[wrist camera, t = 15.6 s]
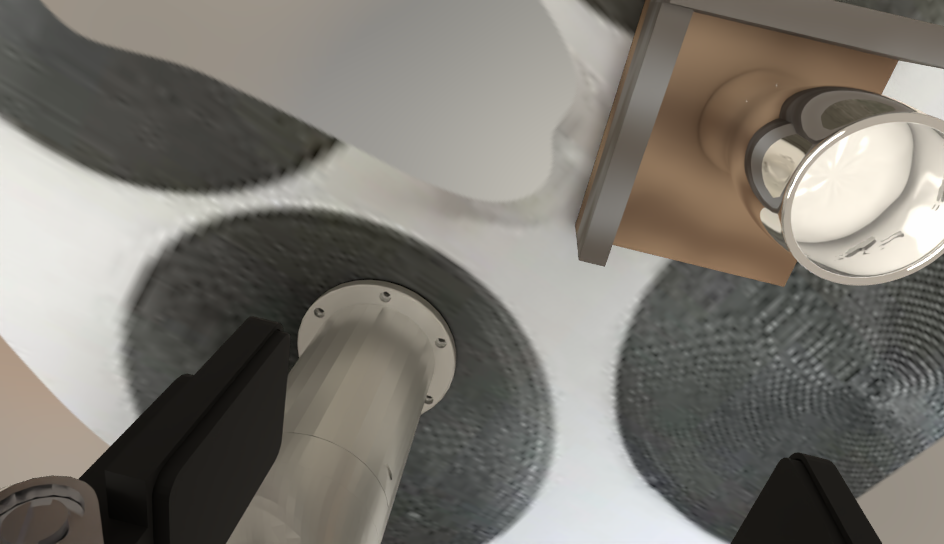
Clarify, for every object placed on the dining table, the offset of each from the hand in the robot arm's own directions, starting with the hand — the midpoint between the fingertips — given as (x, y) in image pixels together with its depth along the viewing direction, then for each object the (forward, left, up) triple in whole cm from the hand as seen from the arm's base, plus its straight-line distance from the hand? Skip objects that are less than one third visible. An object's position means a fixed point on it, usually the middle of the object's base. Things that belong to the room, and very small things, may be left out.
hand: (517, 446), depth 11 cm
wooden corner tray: (+2, -11, -30) cm, 32 cm away
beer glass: (+3, -12, -28) cm, 31 cm away
